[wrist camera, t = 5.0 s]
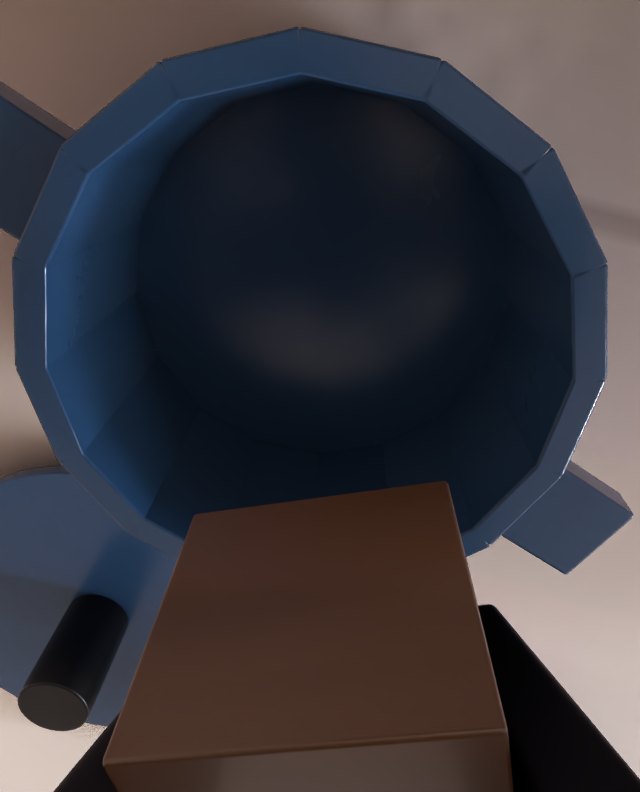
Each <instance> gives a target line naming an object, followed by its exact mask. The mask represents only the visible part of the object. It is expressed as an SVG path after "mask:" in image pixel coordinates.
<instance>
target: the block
mask: <svg viewBox="0 0 640 792" xmlns="http://www.w3.org/2000/svg"><path fill="white" fill-rule="evenodd" d="M103 767H104V769H105V771H106V772H107V774H108V776H109V778H110V779H111V781H112V783H113V785H114V786H115V788H116V790H117V791H118V792H514V789H513V779H512V768H511V757H510V747H509V736H508V728H507V724H506V720H505V716H504V712H503V708H502V703H501V699H500V695H499V691H498V687H497V683H496V679H495V675H494V670H493V666H492V662H491V658H490V654H489V650H488V646H487V642H486V638H485V633H484V629H483V625H482V621H481V617H480V613H479V609H478V605H477V601H476V596H475V592H474V588H473V584H472V580H471V576H470V572H469V568H468V564H467V559H466V555H465V551H464V547H463V543H462V539H461V535H460V531H459V527H458V522H457V518H456V514H455V510H454V506H453V502H452V498H451V494H450V490H449V485H448V483H447V482H446V481H438V482H431V483H423V484H416V485H408V486H401V487H394V488H386V489H379V490H371V491H364V492H356V493H349V494H341V495H334V496H326V497H319V498H312V499H304V500H297V501H289V502H282V503H274V504H267V505H259V506H252V507H244V508H237V509H230V510H222V511H215V512H207V513H200V514H196V515H194V517H193V519H192V522H191V525H190V527H189V530H188V533H187V535H186V538H185V541H184V543H183V546H182V549H181V551H180V554H179V557H178V559H177V562H176V565H175V567H174V570H173V573H172V575H171V578H170V581H169V584H168V586H167V589H166V592H165V594H164V597H163V600H162V602H161V605H160V608H159V610H158V613H157V616H156V618H155V621H154V624H153V626H152V629H151V632H150V634H149V637H148V640H147V642H146V645H145V648H144V650H143V653H142V656H141V658H140V661H139V664H138V666H137V669H136V672H135V674H134V677H133V680H132V682H131V685H130V688H129V691H128V693H127V696H126V699H125V701H124V704H123V707H122V709H121V712H120V715H119V717H118V720H117V723H116V725H115V728H114V731H113V733H112V736H111V739H110V741H109V744H108V747H107V749H106V752H105V755H104V757H103Z"/></svg>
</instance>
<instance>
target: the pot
mask: <svg viewBox="0 0 640 792" xmlns="http://www.w3.org/2000/svg"><path fill="white" fill-rule="evenodd" d="M0 229H2V230H4V231H5V232H7V233H8V234H10V235H12V236H13V237H15V238H17V239H18V240H19V242H18V245H17V247H16V249H15V252H14V257H13V258H12V276H13V308H14V340H15V366H16V367H17V368H16V370H17V372H18V374H19V376H20V378H21V381H22V383H23V385H24V387H25V390H26V392H27V394H28V396H29V398H30V401H31V403H32V405H33V407H34V410H35V412H36V414H37V416H38V418H39V421H40V423H41V425H42V427H43V430H44V432H45V434H46V436H47V438H48V441H49V443H50V445H51V447H52V450H53V452H54V454H55V456H56V458H57V460H58V461H60V464H61V465H62V466H63V467H64V468H65V469H66V470H67V471H68V472H69V473H70V474H71V475H72V476H73V477H74V478H75V479H76V480H77V481H78V482H79V484H80V485H81V486H82V487H83V488H84V489H85V490H86V491H87V492H88V493H89V494H90V495H91V496H92V497H93V498H94V499H95V500H96V501H97V502H98V503H99V504H100V505H101V506H102V507H103V508H104V509H105V510H106V511H107V512H108V513H109V514H110V515H111V517H112V518H113V519H114V520H115V521H116V522H117V523H118V524H119V525H120V526H121V527H122V528H123V529H124V530H125V531H126V532H129V534H130V535H132V536H134V537H136V538H137V539H139V540H141V541H143V542H145V543H147V544H149V545H151V546H153V547H155V548H156V549H158V550H160V551H162V552H164V553H166V554H168V555H170V556H172V557H174V558H175V559H178V557H179V554H180V551H181V549H182V546H183V543H184V541H185V538H186V535H187V533H188V530H189V527H190V525H191V522H192V519H193V517H194V515H196V514H200V513H207V512H215V511H222V510H230V509H237V508H244V507H252V506H259V505H267V504H274V503H282V502H289V501H297V500H304V499H312V498H319V497H326V496H334V495H341V494H349V493H356V492H364V491H371V490H379V489H386V488H394V487H401V486H408V485H416V484H423V483H431V482H438V481H446V482H447V483H448V485H449V490H450V494H451V498H452V502H453V506H454V510H455V514H456V518H457V522H458V527H459V531H460V535H461V539H462V543H463V547H464V551H465V555H466V557H467V556H470V555H472V554H474V553H476V552H478V551H481V550H483V549H485V548H487V547H489V544H492V543H494V542H495V541H496V540H497V539H498V538H499V537H500V536H501V535H502V536H503V537H505V538H506V539H508V540H510V541H511V542H513V543H515V544H516V545H518V546H519V547H521V548H523V549H524V550H526V551H528V552H529V553H531V554H533V555H534V556H536V557H537V558H539V559H541V560H542V561H544V562H546V563H547V564H549V565H550V566H552V567H554V568H555V569H557V570H559V571H560V572H562V573H564V574H568V573H569V572H570V571H572V570H573V569H574V568H575V567H576V566H577V565H578V564H580V563H581V562H582V561H583V560H584V559H585V558H587V557H588V556H589V555H590V554H591V553H592V552H593V551H595V550H596V549H597V548H598V547H599V546H600V545H602V544H603V543H604V542H605V541H606V540H607V539H608V538H610V537H611V536H612V535H613V534H614V533H615V532H617V531H618V530H619V529H620V528H621V527H622V526H624V525H625V524H626V523H627V522H628V521H629V520H630V519H632V518H633V516H634V515H633V513H632V511H631V510H630V508H629V507H628V505H627V504H626V502H625V501H624V499H623V498H622V496H621V495H620V493H618V492H617V491H615V490H614V489H612V488H611V487H609V486H608V485H606V484H605V483H603V482H602V481H600V480H599V479H597V478H596V477H594V476H593V475H591V474H590V473H588V472H587V471H585V470H584V469H582V468H581V467H579V466H578V465H576V464H575V463H573V462H572V461H570V459H571V457H572V454H573V452H574V450H575V448H576V446H577V443H578V441H579V439H580V437H581V434H582V432H583V430H584V428H585V426H586V423H587V421H588V419H589V417H590V415H591V412H592V410H593V408H594V406H595V404H596V401H597V399H598V397H599V395H600V393H601V390H602V388H603V386H604V384H605V379H606V377H607V264H606V263H607V260H606V258H605V256H604V254H603V252H602V249H601V247H600V245H599V243H598V241H597V239H596V237H595V235H594V233H593V230H592V228H591V226H590V224H589V222H588V220H587V218H586V216H585V213H584V211H583V209H582V207H581V205H580V203H579V201H578V199H577V197H576V194H575V192H574V190H573V188H572V186H571V184H570V182H569V180H568V177H567V175H566V173H565V171H564V169H563V167H562V165H561V163H560V161H559V158H558V156H557V154H556V152H555V150H554V149H553V148H551V146H550V144H549V143H548V142H546V141H545V140H544V139H543V138H541V137H540V136H539V135H538V134H536V133H535V132H534V131H533V130H531V129H530V128H529V127H528V126H526V125H525V124H524V123H523V122H521V121H520V120H519V119H518V118H516V117H515V116H514V115H513V114H511V113H510V112H509V111H508V110H506V109H505V108H504V107H503V106H501V105H500V104H499V103H498V102H496V101H495V100H494V99H493V98H491V97H490V96H489V95H488V94H486V93H485V92H484V91H483V90H481V89H480V88H479V87H478V86H476V85H475V84H474V83H473V82H471V81H470V80H469V79H468V78H466V77H465V76H464V75H463V74H461V73H460V72H459V71H458V70H456V69H455V68H454V67H453V66H451V65H450V64H449V63H448V62H446V61H442V60H441V59H440V58H438V57H434V56H429V55H425V54H420V53H416V52H411V51H407V50H402V49H398V48H394V47H389V46H385V45H380V44H376V43H371V42H367V41H363V40H358V39H354V38H349V37H345V36H340V35H336V34H331V33H327V32H323V31H318V30H314V29H309V28H305V27H302V28H300V29H299V28H298V27H295V28H290V29H286V30H282V31H278V32H274V33H270V34H266V35H261V36H257V37H253V38H249V39H245V40H241V41H236V42H232V43H228V44H224V45H220V46H216V47H212V48H207V49H203V50H199V51H195V52H191V53H187V54H182V55H178V56H174V57H170V58H166V59H163V60H162V62H157V63H156V64H155V65H154V66H153V67H151V68H150V69H149V70H148V71H147V72H146V73H144V74H143V75H142V76H141V77H140V78H138V79H137V80H136V81H135V82H134V83H133V84H131V85H130V86H129V87H128V88H127V89H126V90H124V91H123V92H122V93H121V94H120V95H118V96H117V97H116V98H115V99H114V100H113V101H111V102H110V103H109V104H108V105H107V106H105V107H104V108H103V109H102V110H101V111H100V112H98V113H97V114H96V115H95V116H94V117H92V118H91V119H90V120H89V121H88V122H87V123H85V124H84V125H83V126H82V127H81V128H79V129H78V130H77V131H75V130H73V129H72V128H70V127H69V126H67V125H66V124H64V123H63V122H61V121H60V120H58V119H57V118H55V117H54V116H52V115H51V114H49V113H48V112H46V111H45V110H43V109H42V108H40V107H39V106H37V105H36V104H34V103H33V102H31V101H30V100H28V99H27V98H25V97H24V96H22V95H21V94H19V93H18V92H16V91H15V90H13V89H12V88H10V87H9V86H7V85H6V84H4V83H3V82H1V81H0Z"/></svg>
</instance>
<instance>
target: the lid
mask: <svg viewBox="0 0 640 792" xmlns="http://www.w3.org/2000/svg"><path fill="white" fill-rule="evenodd" d="M176 562H177V559H175V558H174V557H172V556H170V555H168V554H166V553H164V552H162V551H160V550H158V549H156V548H155V547H153V546H151V545H149V544H147V543H145V542H143V541H141V540H139V539H137V538H136V537H134V536H132V535H130V534H129V532H126V531H125V530H124V529H123V528H122V527H121V526H120V525H119V524H118V523H117V522H116V521H115V520H114V519H113V518H112V517H111V515H110V514H109V513H108V512H107V511H106V510H105V509H104V508H103V507H102V506H101V505H100V504H99V503H98V502H97V501H96V500H95V499H94V498H93V497H92V496H91V495H90V494H89V493H88V492H87V491H86V490H85V489H84V488H83V487H82V486H81V485H80V484H79V482H78V481H77V480H76V479H75V478H74V477H73V476H72V475H71V474H70V473H69V472H68V471H67V470H66V469H65V468H64V467H63V466H52V467H41V468H34V469H30V470H25V471H20V472H16V473H13V474H10V475H7V476H5V477H2V478H0V687H1V688H3V689H4V690H6V691H8V692H9V693H11V694H13V695H14V696H16V697H18V706H19V708H20V710H21V712H22V713H23V715H24V716H25V717H26V718H27V719H29V720H30V721H31V722H33V723H34V724H36V725H38V726H40V727H43V728H46V729H50V730H55V731H69V730H74V729H76V728H78V727H80V726H82V725H83V724H84V723H89V724H94V725H101V726H109V724H110V723H111V722H112V721H113V720H114V718H115V717H116V716H117V715H118V714H119V712H120V711H121V709H122V707H123V704H124V701H125V699H126V696H127V693H128V691H129V688H130V685H131V682H132V680H133V677H134V674H135V672H136V669H137V666H138V664H139V661H140V658H141V656H142V653H143V650H144V648H145V645H146V642H147V640H148V637H149V634H150V632H151V629H152V626H153V624H154V621H155V618H156V616H157V613H158V610H159V608H160V605H161V602H162V600H163V597H164V594H165V592H166V589H167V586H168V584H169V581H170V578H171V575H172V573H173V570H174V567H175V565H176Z"/></svg>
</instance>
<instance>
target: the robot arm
mask: <svg viewBox="0 0 640 792" xmlns="http://www.w3.org/2000/svg"><path fill="white" fill-rule="evenodd" d="M478 609H479V613H480V617H481V621H482V625H483V629H484V633H485V638H486V642H487V646H488V650H489V654H490V658H491V662H492V666H493V670H494V675H495V679H496V683H497V687H498V691H499V695H500V699H501V703H502V708H503V712H504V716H505V720H506V724H507V728H508V736H509V747H510V757H511V768H512V779H513V789H514V792H640V779H639V778H638V777H637V775H636V774H635V773H634V772H633V771H632V769H631V768H630V767H629V766H628V765H627V763H626V762H625V761H624V760H623V759H622V757H621V756H620V755H619V754H618V753H617V751H616V750H615V749H614V748H613V747H612V746H611V744H610V743H609V742H608V741H607V740H606V738H605V737H604V736H603V735H602V734H601V732H600V731H599V730H598V729H597V728H596V726H595V725H594V724H593V723H592V722H591V720H590V719H589V718H588V717H587V716H586V714H585V713H584V712H583V711H582V710H581V708H580V707H579V706H578V705H577V704H576V703H575V701H574V700H573V699H572V698H571V697H570V695H569V694H568V693H567V692H566V691H565V689H564V688H563V687H562V686H561V685H560V683H559V682H558V681H557V680H556V679H555V677H554V676H553V675H552V674H551V673H550V671H549V670H548V669H547V668H546V667H545V665H544V664H543V663H542V662H541V661H540V660H539V658H538V657H537V656H536V655H535V654H534V652H533V651H532V650H531V649H530V648H529V646H528V645H527V644H526V643H525V642H524V640H523V639H522V638H521V637H520V636H519V634H518V633H517V632H516V631H515V630H514V628H513V627H512V626H511V625H510V624H509V622H508V621H507V620H506V619H505V618H504V617H503V615H502V614H501V613H500V612H499V611H498V609H497V608H496V607H494V606H493V605H479V606H478ZM120 712H121V711H120ZM120 712H119V714H118V715H117V716H116V717H115V718H114V720H113V721H112V722H111V723H110V724H109V726H108V727H107V728H106V729H105V730H104V732H103V733H102V734H101V735H100V736H99V738H98V739H97V740H96V741H95V742H94V744H93V745H92V746H91V747H90V748H89V750H88V751H87V752H86V753H85V754H84V756H83V757H82V758H81V759H80V760H79V762H78V763H77V764H76V765H75V766H74V768H73V769H72V770H71V771H70V772H69V774H68V775H67V776H66V777H65V778H64V780H63V781H62V782H61V783H60V784H59V786H58V787H57V788H56V789H55V790H54V792H118V791H117V790H116V788H115V786H114V785H113V783H112V781H111V779H110V778H109V776H108V774H107V772H106V771H105V769H104V767H103V757H104V755H105V752H106V749H107V747H108V744H109V741H110V739H111V736H112V733H113V731H114V728H115V725H116V723H117V720H118V717H119V715H120Z"/></svg>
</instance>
